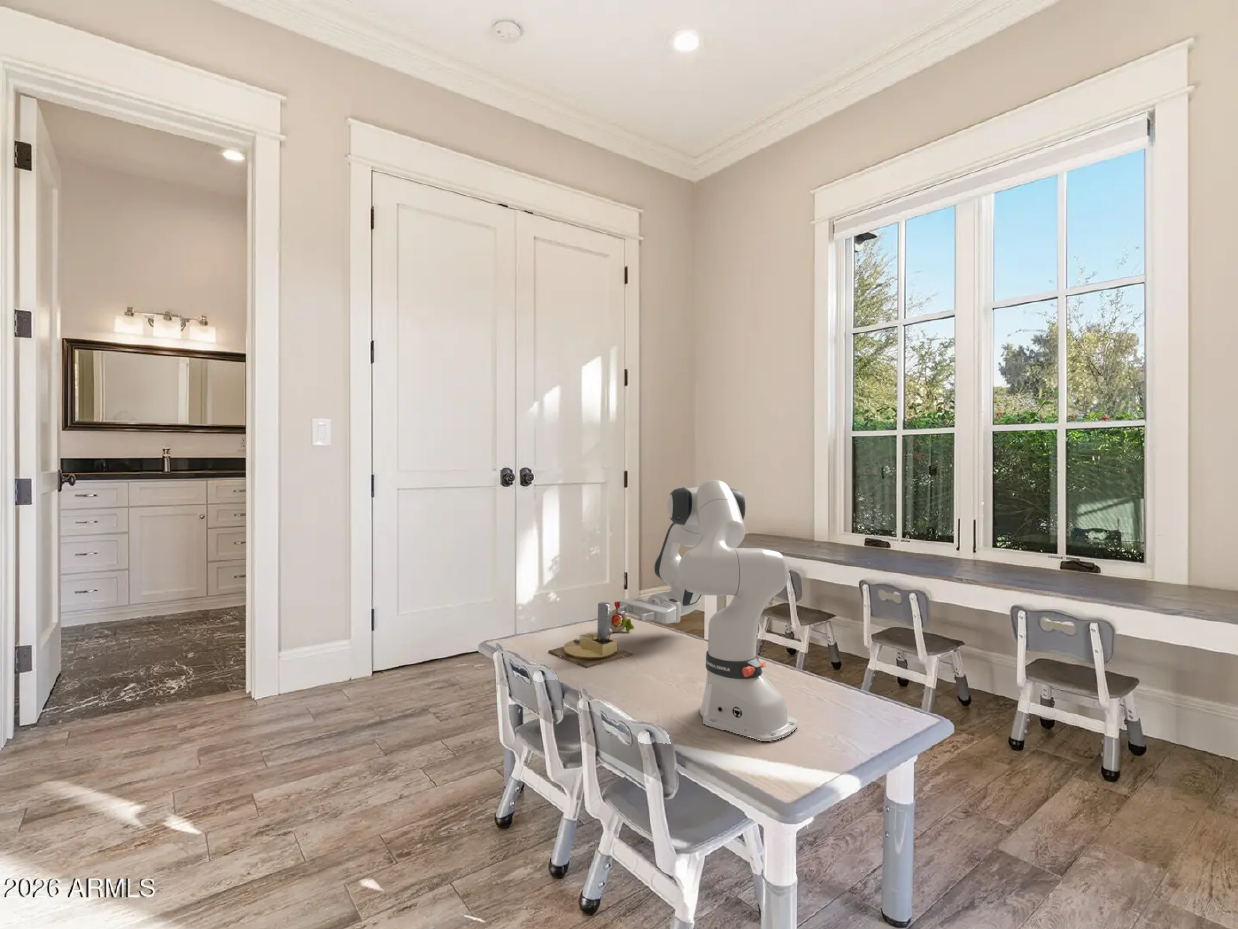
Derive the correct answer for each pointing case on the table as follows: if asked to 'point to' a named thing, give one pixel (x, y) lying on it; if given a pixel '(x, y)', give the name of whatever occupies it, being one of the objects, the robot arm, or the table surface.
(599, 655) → the gold round base
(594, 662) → the base plate
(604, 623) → the pin
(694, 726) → the table surface
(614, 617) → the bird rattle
